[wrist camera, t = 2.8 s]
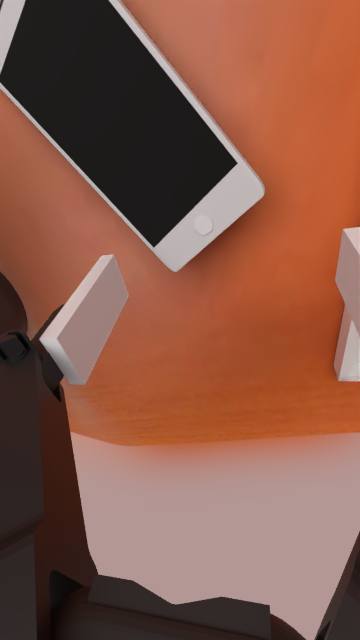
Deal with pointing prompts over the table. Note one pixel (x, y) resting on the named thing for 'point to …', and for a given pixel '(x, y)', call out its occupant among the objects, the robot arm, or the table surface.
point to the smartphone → (125, 121)
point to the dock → (347, 351)
